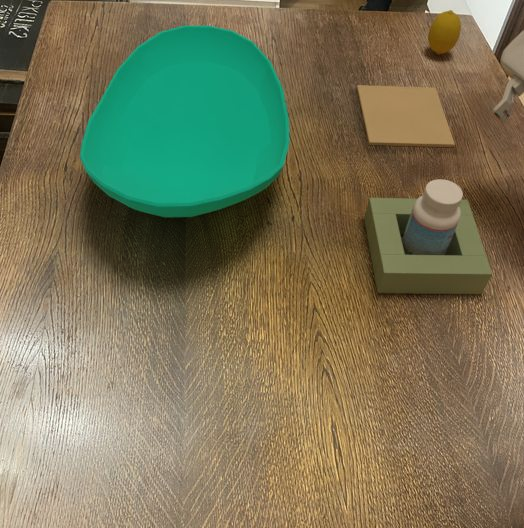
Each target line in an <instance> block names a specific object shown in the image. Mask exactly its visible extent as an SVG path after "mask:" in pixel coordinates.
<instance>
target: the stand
mask: <svg viewBox="0 0 524 528" xmlns="http://www.w3.org/2000/svg"><path fill="white" fill-rule="evenodd" d="M417 199H418V198H410V197H409V198H407V197H406V198H405V197H369V198H368V203H367V206H366V209H365V213H364V218H363V221H364V226H365V231H366V237H367V243H368V248H369V253H370V259H371V265H372V270H373V274H374V275H373V276H374V281H375V287H376V292H377V294H413V295H414V294H415V295H416V294H419V295H420V294H421V295H423V294H425V295H427V294H428V295H429V294H430V295H482V294H483V292H484V290H485V288H486V287H487V285H488V283H489V281H490V280H491V278H492V276H493V271H492V269H491V266H490V262H489V258H488V256H487V253H486V251H485V247H484V245H483V242H482V238H481V235H480V232H479V229H478V226H477V224H476V221H475V218H474V215H473V212H472V209H471V206H470V205H471V204H470V202H469V200H468V199H464V198H462V200H461V203H460V205H459V208H460V211H461V216H460V220H459V222H458V225H457V227H456V229H455V232H454V234H453V237H452V239H451V241H450V244H449V246H448V249H447V251H446V254H445V255H405V253H404V249H403V245H402V236H404V233H405V230H406V226H407V224H408V221H409V218H410V215H411V212H412V209H413V206H414V203H415V202H416V200H417Z"/></svg>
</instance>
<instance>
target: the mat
mask: <svg viewBox="0 0 524 528" xmlns="http://www.w3.org/2000/svg"><path fill="white" fill-rule="evenodd" d="M356 90H357V91H356V92H357V95H358V100H359V105H360V110H361V115H362V118H363V119H362V120H363V125H364V129H365V133H366V138H367V139H366V140H367V144H368V146H381V147H382V146H383V147H386V146H387V147H419V148H421V147H423V148H424V147H426V148H427V147H428V148H455V146H456V143H455V140H454V137H453V135H452V132H451V129H450V125H449V123H448V120H447V117H446V114H445V111H444V108H443V104H442V102H441V99H440V96H439V94H438V91H437V88H436V87H427V86H399V85H397V86H395V85H364V84H363V85H362V84H357V85H356Z"/></svg>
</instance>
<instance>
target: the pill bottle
mask: <svg viewBox="0 0 524 528" xmlns="http://www.w3.org/2000/svg"><path fill="white" fill-rule="evenodd" d="M463 196H464V194H463V190H462V188H461V187H460V186H459V185H458V184H457V183H455V182H453V181H451V180H448V179H442V178H440V179H438V178H437V179H433V180H431V181H429V182H428V183H427V184H426V185H425V188H424V191H423V192H422V195H421V196H419V197H417V198H416V199H417V200H416V202H415V203H414V206H413V209H412V212H411V215H410V218H409V221H408V224H407V226H406V230H405V233H404V235H402V238H401V240H402V245H403V249H404V253H405V255H446V254H447V252H446V251H447V249H448V246H449V244H450V241H451V239H452V237H453V234H454V232H455V229H456V227H457V225H458V222H459V220H460V216H461V211H460V208H459V205H460V203H461V200H462V199H463Z"/></svg>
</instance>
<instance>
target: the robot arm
mask: <svg viewBox="0 0 524 528" xmlns="http://www.w3.org/2000/svg"><path fill="white" fill-rule="evenodd" d="M499 63H500V65H501V68H502V70H503V72H504V73H505V75H506V76H508V77H509V78H510V80H509V81H508V82H507V84H506V86H505V89H504V91H503V94H502V98H501V100H500V101H499V102H498V103H497V104H496V105H495V106H494V107H493V108H492V109H491V110H492V111H491V113H492V115H493V116H494V117H495V118H496V119H497V120H498V121H500V122H501V123H504V122H505V121H507V119H508V118H509V117H511V116H512V115H513V114H514V113H515V112H514V109H512V105H513V102H514V100H515V97H516V96H517V97H521V96H522V95H523V94H524V29H523V30H522V31H521V32H520V33H518V35H517V36H516V37H514V39H512V40H511V41H510V42H509V43H508V44H507V45H506V47H505V48H504V49H503V50H502V53H501V56H500V61H499Z"/></svg>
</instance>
